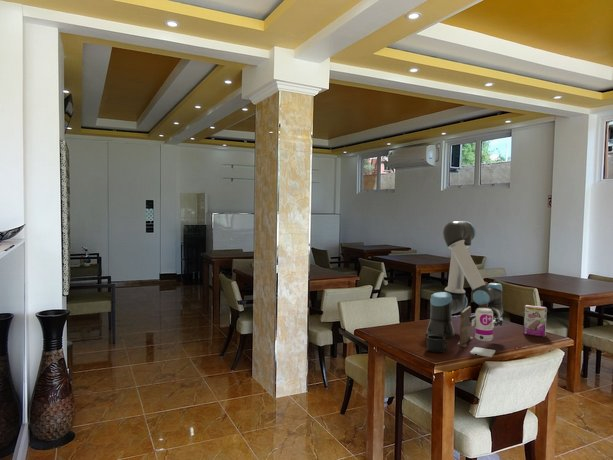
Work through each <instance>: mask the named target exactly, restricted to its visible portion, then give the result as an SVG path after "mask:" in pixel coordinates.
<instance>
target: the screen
mask: <svg viewBox="0 0 613 460" xmlns="http://www.w3.org/2000/svg"><path fill="white" fill-rule="evenodd" d="M470 316H472V306H470V305H469V306H468V305H467V306H466V308H465V309H464V310H462V311H461V312H460V318H459V319H460V321H459V323H460V324H459V341H458V343H457V344H456V345H457V347H460V348H466V347H467V346H468V344H467V343H468V342H469V341H473V338H474V337H473V336H471V327H472V323H471V322H469V317H470Z"/></svg>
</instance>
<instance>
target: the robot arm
mask: <svg viewBox="0 0 613 460" xmlns="http://www.w3.org/2000/svg"><path fill="white" fill-rule="evenodd" d="M476 231H477V230H476V228H475V226H474V225H473V223H471V222H470V221H465V220H461V221H460V220H458V221H449V222H447V224H446V225H444V227H443V230H442V237H443V239H444V243H445V245H446V247H447V248H448V249H449V250H451V253H450V254H451V256H450V262H449V263H450V264H449V270H448V282H447V286H446V287H445V288H444V291H438V292H435V293H433V294H431V295H430V301H429V302H430V307H429V308H430V309H429V310H430V312H429V313H430V314H429V315H430V317H429V323H428V326H427V328H426V335H427V336H428V335H440V336H443V337H445V339H452V338H454V337H455V329H454V325H453V323H452V317H453V316H452V315H453V314H457V313H461V312H462V311H463V310H464V309H466V308H467V307H468V302H469V301H468V297H467V296H466V290H465V289H464V283H465V280H466V281H467V282H468V284H469V287H470V288H471V290H472V292H473V294H472V301H473V302H474V303H475V304H477V305H479V306H482V305H487V306H486V308H489V309H492V311H493V321H492V322H491V328H493V329H494V328H495V326H498V325H499V326H503V322H504V317H503V314H504V308H503V285H502V284H501V283H499V282H498V283H496V282H490V283H488V284H486V282H485V280H484V279H483V277H482V275H481V273H480V271H479V269H478V267H477V265H476V264H475V261H474V259H473V258H472V256H471V254H470V252H469V250H468V248H469V247H471V246H472V241H473V240H474V238H476V234H477V232H476ZM469 322H471V327H474V326H475V314H473V315H472V314H471V316H470V317H469Z"/></svg>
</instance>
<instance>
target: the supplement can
mask: <svg viewBox="0 0 613 460" xmlns="http://www.w3.org/2000/svg"><path fill="white" fill-rule="evenodd" d="M474 315H475V325H474V326H475V328H474V329H475V330H474V332H475V333H474V337H475V338H476V340H478V341H480V342H491V341H492V340H494V327H493V328H491V322H492V321H493V311H492V309H489V308H487V307H477V308H476V309H475V314H474Z"/></svg>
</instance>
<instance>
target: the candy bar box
mask: <svg viewBox="0 0 613 460" xmlns="http://www.w3.org/2000/svg"><path fill="white" fill-rule="evenodd" d="M523 309H524V311H523V312H524V313H523V335H527V336H534V335H535V336H534V337H541V336H542V337H543V338H546V335H547V330H546V329H547V312H548V308H547V307H546V306H539V305H531V304H530V305H529V304H524V308H523ZM542 337H541V338H542Z"/></svg>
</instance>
